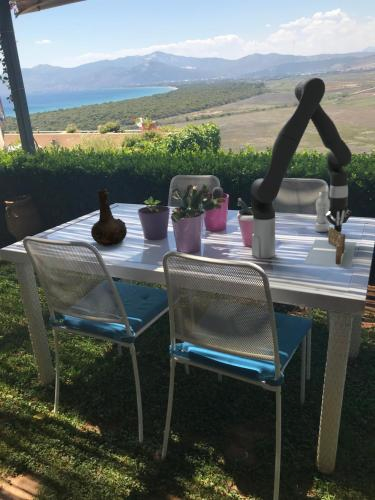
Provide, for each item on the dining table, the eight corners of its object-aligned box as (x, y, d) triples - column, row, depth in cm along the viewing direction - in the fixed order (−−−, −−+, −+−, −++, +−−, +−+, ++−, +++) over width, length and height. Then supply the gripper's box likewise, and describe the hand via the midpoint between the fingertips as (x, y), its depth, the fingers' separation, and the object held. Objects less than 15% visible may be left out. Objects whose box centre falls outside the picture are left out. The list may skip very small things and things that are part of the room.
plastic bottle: (329, 233, 202) (331, 193, 195) (315, 233, 203) (316, 193, 197) (328, 229, 208) (330, 190, 201) (314, 230, 209) (315, 191, 203)
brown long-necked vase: (131, 245, 208) (124, 190, 198) (95, 251, 202) (86, 195, 193) (124, 235, 224) (117, 184, 214) (91, 241, 218) (82, 188, 209)
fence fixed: (340, 264, 164) (341, 246, 162) (335, 264, 165) (336, 246, 163) (343, 252, 177) (344, 235, 174) (339, 252, 178) (339, 235, 175)
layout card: (350, 268, 161) (350, 267, 161) (303, 264, 169) (303, 263, 169) (356, 243, 187) (356, 242, 187) (315, 240, 195) (315, 239, 195)
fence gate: (345, 250, 177) (346, 235, 175) (340, 250, 177) (341, 235, 175) (331, 241, 189) (332, 226, 187) (327, 241, 189) (327, 227, 187)
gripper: (329, 199, 176) (329, 237, 182) (357, 194, 179) (355, 232, 185) (320, 195, 183) (320, 232, 189) (347, 191, 186) (346, 228, 191)
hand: (337, 232), depth 187 cm, fingers closed
